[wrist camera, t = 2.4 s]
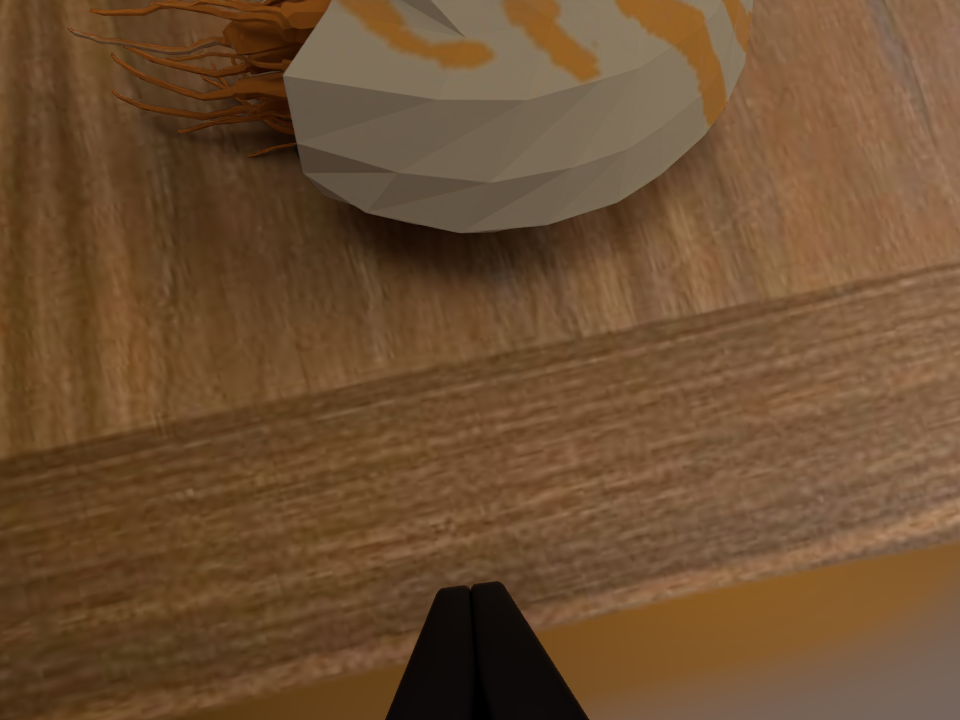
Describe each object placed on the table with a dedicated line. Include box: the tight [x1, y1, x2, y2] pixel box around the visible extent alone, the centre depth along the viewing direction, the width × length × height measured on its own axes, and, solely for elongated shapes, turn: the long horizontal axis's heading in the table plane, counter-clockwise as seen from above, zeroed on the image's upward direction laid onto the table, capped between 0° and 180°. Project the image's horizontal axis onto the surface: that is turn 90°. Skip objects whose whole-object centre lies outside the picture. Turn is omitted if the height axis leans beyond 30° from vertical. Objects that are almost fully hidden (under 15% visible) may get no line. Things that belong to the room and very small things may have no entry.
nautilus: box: [68, 0, 753, 233], centre depth 22 cm, size 8×22×15 cm
